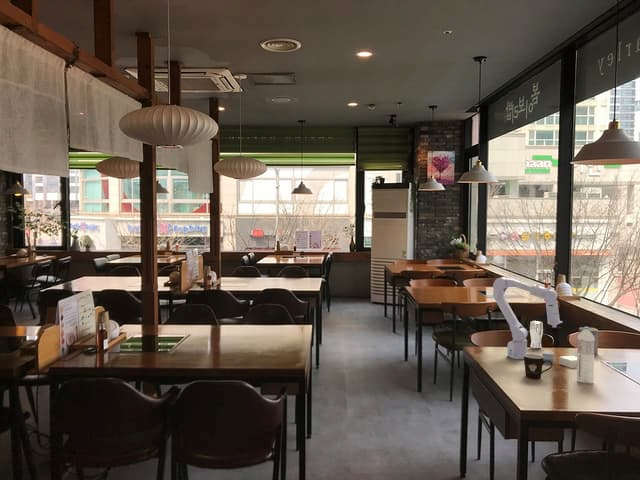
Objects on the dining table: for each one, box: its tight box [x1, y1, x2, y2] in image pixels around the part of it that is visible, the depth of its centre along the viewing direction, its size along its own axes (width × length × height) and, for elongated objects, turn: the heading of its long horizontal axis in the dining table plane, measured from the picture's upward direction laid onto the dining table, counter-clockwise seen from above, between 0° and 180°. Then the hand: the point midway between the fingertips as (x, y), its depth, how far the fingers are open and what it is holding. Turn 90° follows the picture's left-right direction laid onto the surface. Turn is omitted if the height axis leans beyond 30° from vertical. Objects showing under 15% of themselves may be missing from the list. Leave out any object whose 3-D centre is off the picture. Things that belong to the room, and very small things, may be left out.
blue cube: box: [541, 351, 555, 365], centre depth 268 cm, size 5×5×5 cm
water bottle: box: [576, 326, 595, 385], centre depth 234 cm, size 7×7×25 cm
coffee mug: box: [523, 353, 553, 381], centre depth 239 cm, size 12×9×10 cm
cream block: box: [558, 355, 577, 369], centre depth 263 cm, size 8×8×4 cm
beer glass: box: [529, 320, 544, 349], centre depth 302 cm, size 7×7×15 cm
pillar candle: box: [578, 326, 599, 356], centre depth 289 cm, size 10×10×15 cm
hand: (556, 339), depth 268 cm, fingers open, 7 cm apart
